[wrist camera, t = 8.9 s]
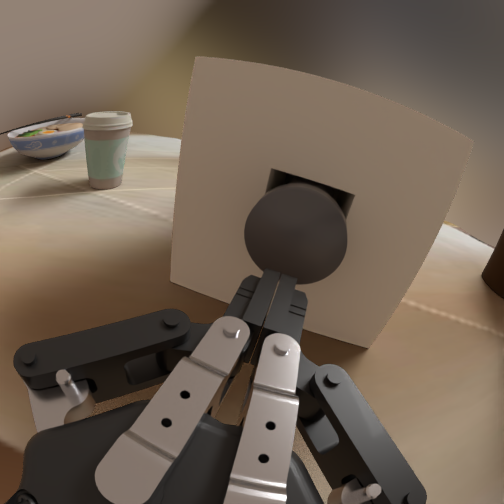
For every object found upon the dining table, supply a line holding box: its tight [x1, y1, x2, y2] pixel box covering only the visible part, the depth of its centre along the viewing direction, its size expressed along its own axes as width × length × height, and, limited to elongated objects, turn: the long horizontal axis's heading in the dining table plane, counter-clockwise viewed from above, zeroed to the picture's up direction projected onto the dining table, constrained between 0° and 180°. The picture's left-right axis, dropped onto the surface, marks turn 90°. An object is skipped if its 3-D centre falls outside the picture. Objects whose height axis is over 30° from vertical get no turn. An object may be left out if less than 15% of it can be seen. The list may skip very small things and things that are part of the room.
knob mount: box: [170, 56, 474, 348], centre depth 25 cm, size 20×12×20 cm, turn 74°
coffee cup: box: [82, 111, 133, 189], centre depth 40 cm, size 8×9×12 cm
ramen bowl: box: [1, 113, 85, 160], centre depth 50 cm, size 25×23×8 cm
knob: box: [244, 176, 347, 285], centre depth 21 cm, size 6×9×6 cm
